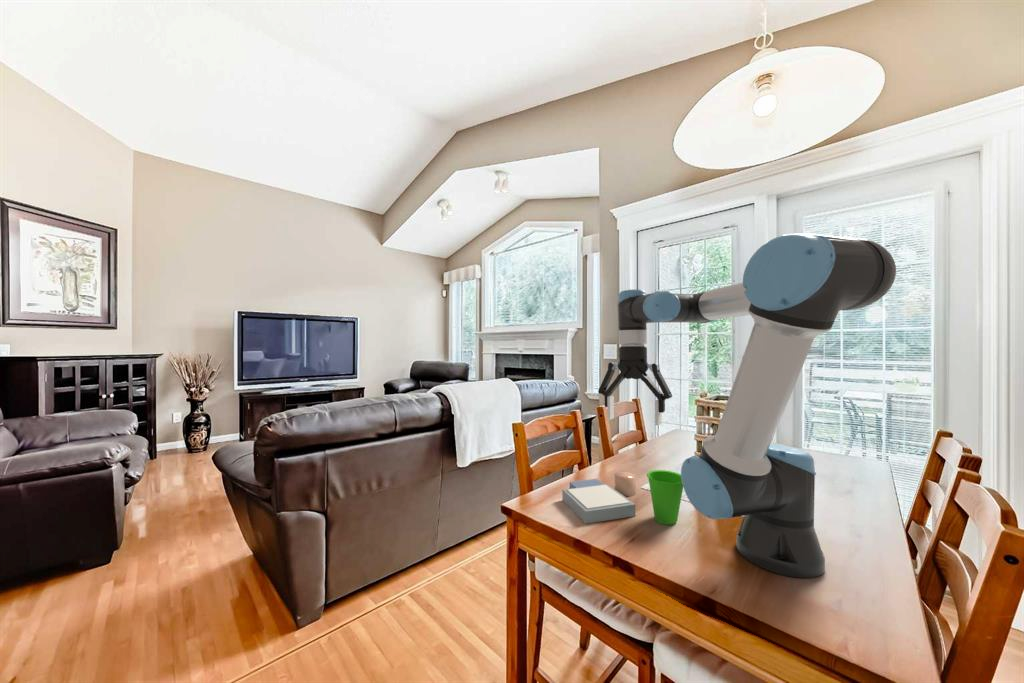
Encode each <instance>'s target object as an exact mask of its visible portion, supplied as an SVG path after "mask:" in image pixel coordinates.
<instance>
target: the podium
mask: <svg viewBox="0 0 1024 683" xmlns="http://www.w3.org/2000/svg"><path fill="white" fill-rule="evenodd" d="M561 492H562V493H561V494H562V502H564V503H565V504H566V506H568V507H569V509H571V511H573V513H574V514H575V515H576V516H578V517H579V519H580V520H582V522H583V523H584V524H592V523H600V522H605V521H606V522H607V521H611V520H612V521H613V520H618V519H623V518H624V519H625V518H632V517H636V503H634V502H633V501H631V499H629V498H627V496H623V495H622V494H620V493H619V492H618V491H616V490H615V488H613V487H612V486H611V485H609V484H608V483H603V485H595V486H587V487H579V488H571V489H570V488H564V489H562V490H561Z"/></svg>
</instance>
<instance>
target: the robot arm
mask: <svg viewBox="0 0 1024 683" xmlns="http://www.w3.org/2000/svg"><path fill="white" fill-rule="evenodd" d="M896 276H897V266H896V262H895V259H894V257H893V256H892V254H891V253H890V252H889V250H887V249H886V248H885V247H884V246H882V245H881V244H879V243H878V242H875V241H873V240H870V239H865V238H858V237H846V236H845V237H844V236H843V237H842V236H836V235H835V236H834V235H824V234H816V233H814V232H813V233H789V234H783V235H780V236H776V237H774V238H772V239H770V240H769V241H767V242H766V243H764V244H763V245H761V246H760V247H759V248H758V249H757V250H756V251H754V253H753V254H752V255H751V257H750V259H749V260H748V262H747V264H746V265H745V268H744V270H743V275H742V282H739V283H735V284H731V285H727V286H723V287H722V286H721V287H718V288H715V289H711V290H707V291H702V292H698V293H674V292H672V291H670V290H669V291H668V290H663V291H662V290H661V291H660V290H658V291H654V292H651V293H647V292H646V291H645V289H636V288H635V289H627V290H626V289H625V290H621V291H620V292H619V293H618V299H617V300H618V303H617V314H618V315H617V316H618V317H617V318H618V320H617V321H618V345H620V346H619V348H618V359H619V361H618V363H616V362H614V361H613V362H611V361H610V362H608V364H607V371H606V373H605V375H604V378H603V380H602V382H601V384H600V386H599V388H598V392H597V393H598V394H599V395H603V396H604V407H605V408H607V420H609V421H610V420H613V419H615V401H614V400H615V398H614V397H615V396H614V395H612V394H613V393H614V391H615V390H616V389H617V388H618V387H619V386H620V385H621V383H622V382H623V381H624V380H625V379H627V380H631V379H633V380H641V381H642V382H644V384H645V385H646V387H647V388H648V389H649V390H650V391H651V392H652V394H653V395H654V396H655V397H656V400H654V418H655V421H654V423H655V424H654V425H655V426H660V425H662V413H665V412H666V411H665V410H666V400H668V399H671V398H672V397H673V394H672V392H671V390H670V388H669V386H668V384H667V382H666V380H665V378H664V376H663V374H662V372H661V371H660V370H661V367H660V363H659V362H655V363H654V362H653V363H651V364H650V363H648V347H647V346H645V345H647V344H648V340H647V338H648V336H647V334H648V333H647V332H648V331H647V329H648V328H647V327H648V326H647V324H651V323H691V324H692V323H697V324H698V323H699V324H708V323H714V322H716V321H718V320H722V319H723V320H724V319H729V318H731V319H732V318H736V317H745V316H751V317H752V319H753V322H754V324H753V327H752V329H751V333H750V336H749V338H748V341H747V344H746V347H745V350H744V353H743V356H742V358H741V361H740V364H739V367H738V370H737V372H736V376H735V377H734V381H733V384H732V387H731V390H730V393H729V396H728V399H727V402H726V405H725V407H724V409H723V414H722V415H721V419H720V422H719V425H718V427H717V430H716V432H715V434H712V435H710V436H707V437H706V438H705V439H704V441H703V444H702V447H701V448H700V452H699V455H697V456H696V455H692V456H689V457H687V458H686V459H684V461H683V463H682V465H681V469H680V474H681V480H682V485H683V490H684V492H685V495H686V497H687V498H688V501H689V502H690V504H691V505H692V506H693V508H694V509H695V510H696V511H697V512H698V513H699V514H700V515H702V516H704V517H706V518H708V519H711V520H720V519H721V520H722V519H723V520H730V519H733V518H739V517H743V519H742V521H741V524H740V526H739V529H738V530H737V533H736V544H735V545H736V549H737V551H738V552H739V554H740V555H741V556H743V557H744V558H745V559H746V560H747V561H748V562H750V563H752V564H754V565H756V566H757V567H760V568H762V569H764V570H766V571H770V572H772V573H775V574H778V575H780V576H781V575H782V576H785V577H786V576H787V577H791V578H800V579H811V578H816V577H820V576H821V575H823V574H824V573H825V571H826V568H825V567H826V559H825V558H826V557H825V554H824V552H823V550H822V547H821V544H820V541H819V539H818V535H817V532H816V529H815V488H816V487H815V484H816V483H815V482H816V481H815V479H816V475H817V472H815V460H814V457H813V456H812V455H811V454H810V453H809V452H807V451H805V450H802V449H801V448H796V447H793V446H789V445H785V444H780V443H776V442H772V441H773V438H774V436H775V434H776V432H777V429H778V427H779V424H780V422H781V419H782V417H783V415H784V412H785V410H786V407H787V405H788V402H789V400H790V398H791V395H792V393H793V390H794V388H795V386H796V383H797V381H798V378H799V375H800V374H801V372H802V369H803V367H804V365H805V362H806V359H807V356H808V354H809V352H810V350H811V348H812V345H813V342H814V340H815V338H816V337H817V336H819V335H822V334H824V333H827V332H830V331H831V330H832V328H833V325H834V323H835V321H836V318H837V316H838V314H839V312H840V311H851V310H852V311H853V310H857V309H862V308H866V307H868V306H870V305H872V304H875V303H876V302H878V301H879V300H881V299H882V298H883V297H884V296H885V295H886V294H887V293H888V292H889V290H890V289H891V288H892V286H893V285H894V282H895V279H896ZM617 369H618V370H619V371H620V372H619V373H618V375H617V376H616V378H615V379H614V380H613V381H612V383H611V380H612V378H613V376H614V374H615V372H616V370H617ZM648 370H650V372H652V374H653V377H654V379H655V380H656V383H657V385H658V386H657V385H656V384H655V382H654V381H653V380H652V378H651V377H650V376H649V374H648V373H647V372H648ZM610 383H611V384H610Z"/></svg>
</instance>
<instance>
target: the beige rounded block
mask: <svg viewBox="0 0 1024 683" xmlns="http://www.w3.org/2000/svg"><path fill="white" fill-rule="evenodd" d="M636 477H637V475H636V474H634V473H632V472H629V471H616V472H615V473H614V489H615V490H616V491H618V492H619V493H620V494H622V495H623V496H625V497H633V496H635V495H636V494H637V490H636V488H637V486H636V484H637V478H636Z"/></svg>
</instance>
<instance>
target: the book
mask: <svg viewBox="0 0 1024 683" xmlns="http://www.w3.org/2000/svg"><path fill="white" fill-rule="evenodd" d="M603 484H604V483H603V482H601V481H600V480H599V479H598V478H593V479H591V478H590V479H584V480H583V479H582V480H576V481H569V489H571V488H579V487H587V486H595V485H603Z"/></svg>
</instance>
